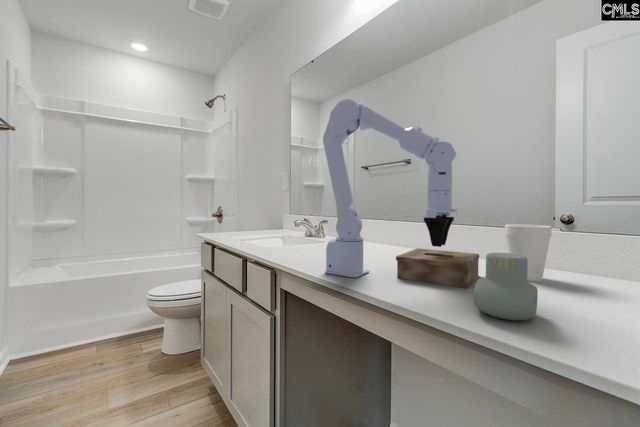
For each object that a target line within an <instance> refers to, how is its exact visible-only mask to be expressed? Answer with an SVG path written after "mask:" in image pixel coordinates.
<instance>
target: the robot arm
mask: <svg viewBox="0 0 640 427" xmlns="http://www.w3.org/2000/svg"><path fill="white" fill-rule="evenodd" d="M358 129H360V131H365V130H369V129H371V130H374V131H376V132H379V133H380V134H383V135H385V136H387V137H390V138H392V139H394V140H396V141H398V144H399V147H400V148H401V149H402V150H404V151H406V152H408V153H409V154H412V155H414V156H416V157H417V158H420V159H421V160H425V163H426V164H427V165H428V166H427V167H428V168H427V170H428V172H427V191H426V192H427V196H426V200H427V202H426V203H427V204H426V208H425V209H426V210H425V212H426V215H425V217H423V222H424V224H425V225H426V228H427V230H428V233H429V237H430V238H429V239H430V243H431V246H432V247H437V248H438V247H439V248H441V247H442V246H445V245H446V242H447V239H448V235H449V230H450V227H451V226H452V224H453V222H454V219H455V217H454V216H451V213H457V212H458V209H457V208H452V207H453V204H452V203H453V199H452V198H453V161H454V160H455V158H456V155H457V152H456V151H455V149H454V147H453V145H452V144H451V143H449V142H447V141H439V140H440V137H437V136H436V137H433V136H432V135H429V134H427V133H425V132H423V128H422V127H420V126H418V127H416V128H415V127H413V126H412V127H407V128H405V127H403V126H400V124H397V123H396V122H394V121H392V120H390V119H388V118H387V117H384V115H382V114H379V113H378V112H377V111H375V110H373V109H371V108H369V107H368V106H366V105H365V104H363V103H357V102H356V101H354V100H352V99H349V98H345V99H342V100H340V101H339V102H338V103H337V104H336V105H335V106H334V107H333V108H332V110H330V115H329V119H328V121H327V124H326V128H325V131H324V134H323V136H322V142H323V148H324V152H325V158H326V161H327V167H328V172H329V176H330V180H331V187H332V191H333V195H334V200H335V206H336V209H335V210H336V216H337V221H336V224H335V230H336V233H337V235H338V236H336V237H335V238H332V239H330V240H329V241H328V242H327V244H326V250H325V252H326V255H325V260H326V261H325V262H326V264H325V265H326V266H325V267H326V268H325V270H324V273H325V274H330V275H336V276H344V277H348V278H349V277H350V278H358V277H361V276H363V275H365V274H368V273H370V270H369V269H364V237H362V236H361V232H362V229H363V222H362V219H361V218H360V216H359V215H358V213H357V211H356V206H355V205H356V204H355V201H354V199H353V198H354V197H353V193H352V188H351V183H350V178H349V173H348V168H347V163H346V159H345V154H344V150H343V144H344V142H345V141H346V140H347V138H348V137H349V136H351V134H353V133H355V132H356V131H357V130H358Z"/></svg>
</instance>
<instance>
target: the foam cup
mask: <svg viewBox="0 0 640 427" xmlns="http://www.w3.org/2000/svg"><path fill="white" fill-rule="evenodd" d="M504 235H505V236H506V237H505V238H506V239H505V240H506V247H507V253H511V254H518V255H523V256H525V257H526V258H527V259H528V267H527V282H529V281H530V282H541V281H542V280H543V277H544V272H545V267H546V261H547V256H548V249H549V246H550V240H551V237H552V226H551V225H540V224H505V225H504Z"/></svg>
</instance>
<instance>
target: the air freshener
mask: <svg viewBox="0 0 640 427" xmlns="http://www.w3.org/2000/svg"><path fill="white" fill-rule="evenodd" d="M527 267H528V259H527V258H526V257H525V256H523V255H518V254H511V253H508V252H490V253H487V254H486V256H485V277H482V278H478V280H476V282H475V284H474V288H473V293H472V294H473V295H472V301H473V305H474V306H475V307H476V308H477V309H479V310H480V311H481V312H483V313H485V314H487V315H489V316H491V317H494V318H497V319H501V320H508V321H518V322H519V321H521V322H523V321H526V320H531V319H534V318H535V317H536V315H537V311H538V310H537V308H538V287H537V286H536V285H534V284H532V283H531V282H529V281H527Z"/></svg>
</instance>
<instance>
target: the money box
mask: <svg viewBox="0 0 640 427" xmlns="http://www.w3.org/2000/svg"><path fill="white" fill-rule="evenodd" d="M479 259H480V253H471V252H464V251H463V252H462V251H451V250H439V249H428V248H415V249H411V250H409V251H406V252H404V253H401V254H398V255H396V256H395V261H397V264H396V265H397V266H396V267H397V270H396V271H397V273H396V274H397V276H396V278H397V279H404V280H410V281H417V282H422V283H423V282H424V283H431V284H436V285H442V286H448V287H449V286H450V287H456V288H461V289H462V288H463V289H469V288H470V286H471V285H472V284H473V283H474V281H476V279H477V278H478V277H479Z"/></svg>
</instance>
